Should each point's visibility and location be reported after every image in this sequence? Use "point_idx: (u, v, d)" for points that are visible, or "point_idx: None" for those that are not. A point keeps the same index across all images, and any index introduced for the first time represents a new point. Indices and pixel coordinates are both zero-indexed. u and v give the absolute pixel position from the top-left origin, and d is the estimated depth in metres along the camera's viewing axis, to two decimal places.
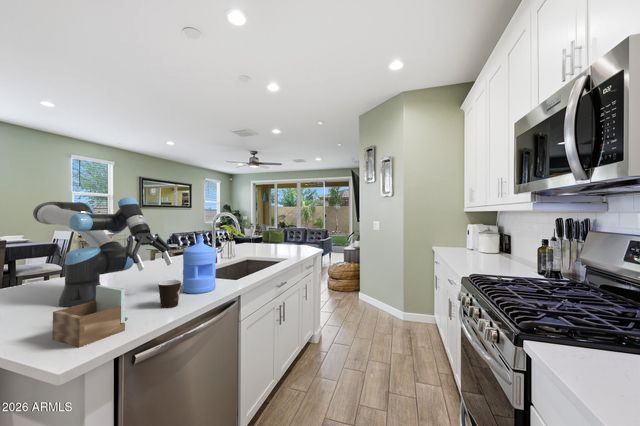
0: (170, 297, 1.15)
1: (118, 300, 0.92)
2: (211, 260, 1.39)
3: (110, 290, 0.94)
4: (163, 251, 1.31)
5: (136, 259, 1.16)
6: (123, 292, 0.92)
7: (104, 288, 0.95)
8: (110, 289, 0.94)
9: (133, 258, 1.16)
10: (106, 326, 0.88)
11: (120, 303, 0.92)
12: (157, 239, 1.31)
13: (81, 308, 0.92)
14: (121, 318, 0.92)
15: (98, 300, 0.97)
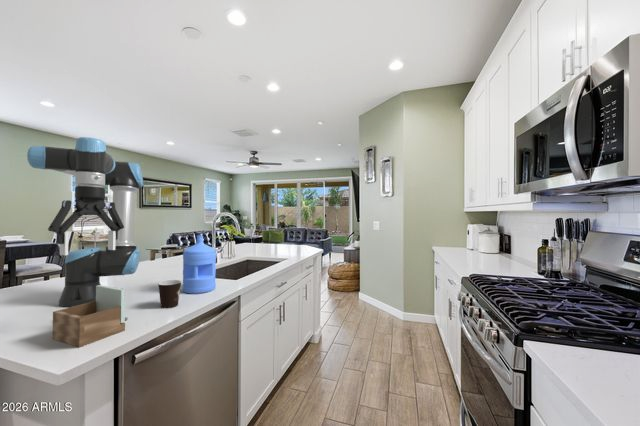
0: (170, 297, 1.15)
1: (118, 300, 0.92)
2: (211, 260, 1.39)
3: (110, 290, 0.94)
4: (111, 228, 0.96)
5: (61, 240, 0.82)
6: (123, 292, 0.92)
7: (104, 288, 0.95)
8: (110, 289, 0.94)
9: (58, 236, 0.81)
10: (106, 326, 0.88)
11: (120, 303, 0.92)
12: (110, 210, 0.95)
13: (81, 308, 0.92)
14: (121, 318, 0.92)
15: (98, 300, 0.97)
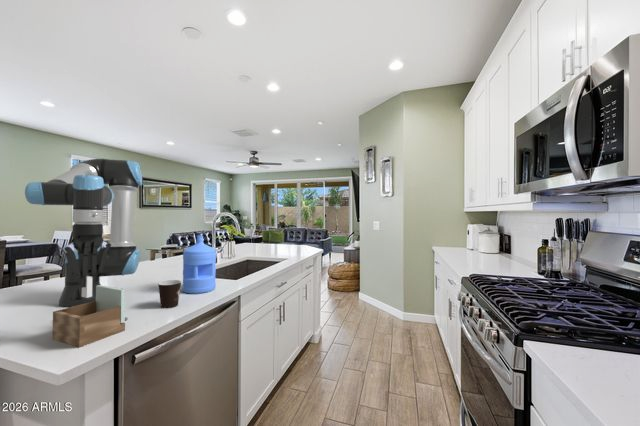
0: (170, 297, 1.15)
1: (118, 300, 0.92)
2: (211, 260, 1.39)
3: (110, 290, 0.94)
4: (88, 273, 0.89)
5: (83, 283, 0.87)
6: (123, 292, 0.92)
7: (104, 288, 0.95)
8: (110, 289, 0.94)
9: (80, 280, 0.87)
10: (106, 326, 0.88)
11: (120, 303, 0.92)
12: (102, 250, 0.92)
13: (81, 308, 0.92)
14: (121, 318, 0.92)
15: (98, 300, 0.97)
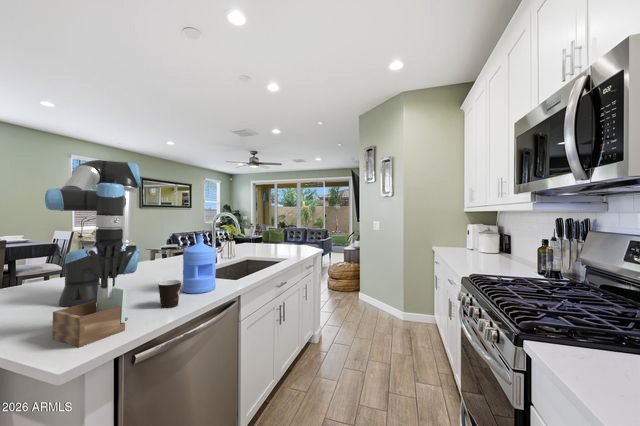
0: (170, 297, 1.15)
1: (119, 299, 0.93)
2: (211, 260, 1.39)
3: (112, 289, 0.95)
4: (109, 274, 0.95)
5: (105, 284, 0.93)
6: (124, 291, 0.93)
7: None
8: (112, 288, 0.95)
9: (102, 282, 0.93)
10: (106, 326, 0.88)
11: (121, 302, 0.92)
12: (122, 253, 0.98)
13: (81, 308, 0.92)
14: (121, 318, 0.92)
15: (99, 299, 0.97)
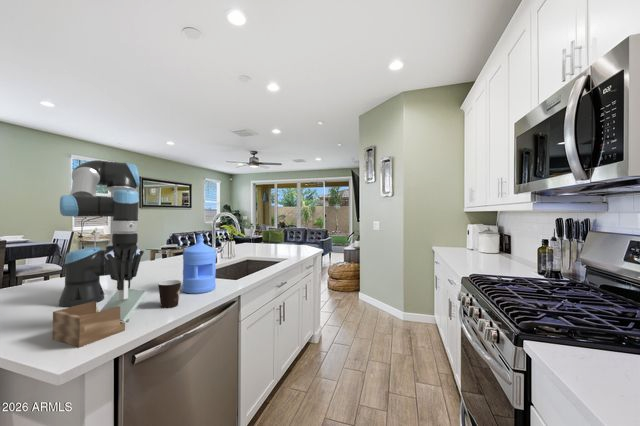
0: (170, 297, 1.15)
1: (135, 299, 0.98)
2: (211, 260, 1.39)
3: (133, 291, 1.01)
4: (124, 277, 1.00)
5: (121, 286, 0.98)
6: (144, 293, 0.99)
7: None
8: (133, 290, 1.01)
9: (118, 284, 0.97)
10: (106, 326, 0.88)
11: (135, 302, 0.97)
12: (136, 256, 1.03)
13: (81, 308, 0.92)
14: (126, 316, 0.94)
15: (112, 299, 1.01)
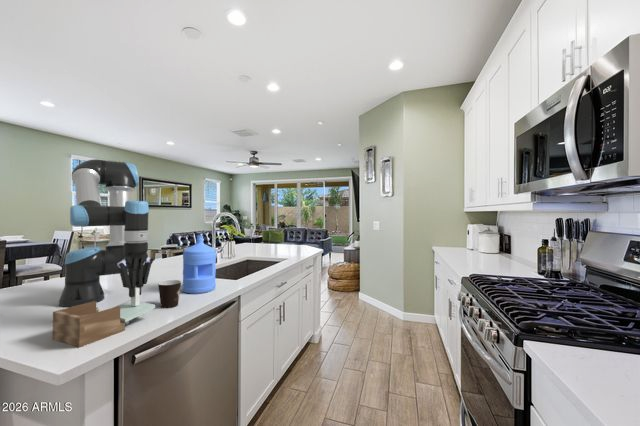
0: (170, 297, 1.15)
1: (143, 308, 1.01)
2: (211, 260, 1.39)
3: (142, 303, 1.05)
4: (135, 284, 1.04)
5: (132, 293, 1.01)
6: (153, 306, 1.03)
7: None
8: (143, 303, 1.05)
9: (130, 291, 1.01)
10: (106, 326, 0.88)
11: (142, 309, 0.99)
12: (146, 264, 1.07)
13: (81, 308, 0.92)
14: (129, 317, 0.95)
15: (119, 306, 1.03)
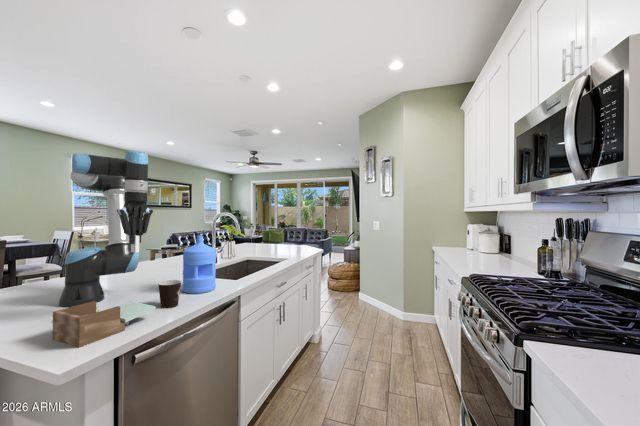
0: (170, 297, 1.15)
1: (143, 309, 1.01)
2: (211, 260, 1.39)
3: (143, 304, 1.05)
4: (136, 232, 1.08)
5: (133, 240, 1.06)
6: (153, 308, 1.03)
7: (138, 303, 1.06)
8: (144, 304, 1.05)
9: (130, 238, 1.06)
10: (106, 326, 0.88)
11: (143, 310, 1.00)
12: (146, 214, 1.11)
13: (81, 308, 0.92)
14: (129, 317, 0.95)
15: (119, 306, 1.03)
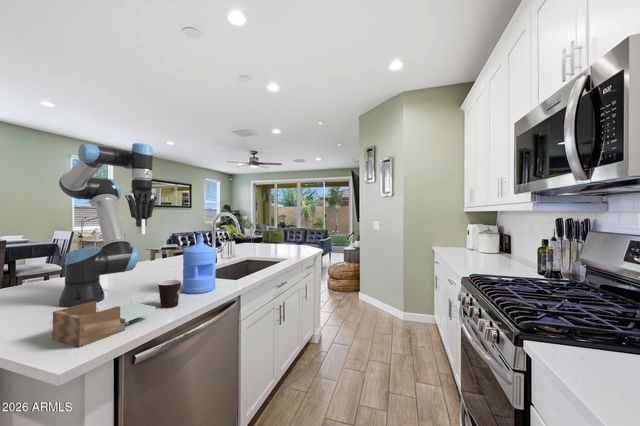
0: (170, 297, 1.15)
1: (143, 309, 1.01)
2: (211, 260, 1.39)
3: (143, 305, 1.05)
4: (142, 217, 1.20)
5: (139, 223, 1.18)
6: (153, 308, 1.03)
7: (138, 303, 1.06)
8: (144, 305, 1.05)
9: (137, 221, 1.18)
10: (106, 326, 0.88)
11: (143, 311, 1.00)
12: (151, 201, 1.23)
13: (81, 308, 0.92)
14: (129, 317, 0.95)
15: (120, 307, 1.03)
